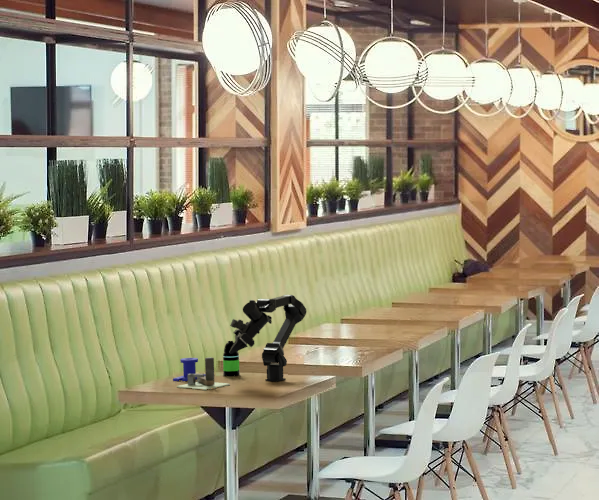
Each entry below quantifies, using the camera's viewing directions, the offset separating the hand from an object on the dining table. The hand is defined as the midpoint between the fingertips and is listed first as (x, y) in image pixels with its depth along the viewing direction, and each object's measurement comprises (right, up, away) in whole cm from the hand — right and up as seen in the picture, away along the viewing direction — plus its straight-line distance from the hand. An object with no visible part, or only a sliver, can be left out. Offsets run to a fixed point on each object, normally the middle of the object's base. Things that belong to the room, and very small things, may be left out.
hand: (230, 353), depth 504 cm
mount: (-19, -13, +23) cm, 33 cm away
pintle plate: (-11, -14, +1) cm, 18 cm away
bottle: (-1, -12, +30) cm, 32 cm away
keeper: (-14, -14, +2) cm, 20 cm away
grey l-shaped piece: (-10, -13, +3) cm, 17 cm away
